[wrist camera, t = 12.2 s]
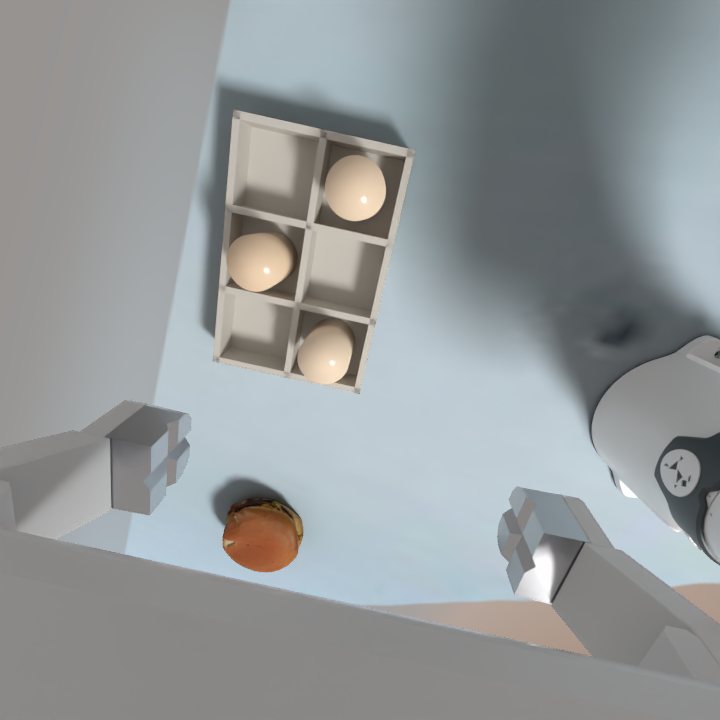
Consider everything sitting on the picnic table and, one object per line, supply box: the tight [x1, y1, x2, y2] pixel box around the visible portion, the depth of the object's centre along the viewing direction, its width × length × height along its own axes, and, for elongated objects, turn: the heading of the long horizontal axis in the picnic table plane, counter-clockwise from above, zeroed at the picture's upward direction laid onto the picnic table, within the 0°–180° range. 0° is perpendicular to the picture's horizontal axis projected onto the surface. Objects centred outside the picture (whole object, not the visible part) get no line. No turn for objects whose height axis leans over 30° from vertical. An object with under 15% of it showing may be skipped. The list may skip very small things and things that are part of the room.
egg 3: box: [325, 155, 387, 221], centre depth 33 cm, size 5×5×6 cm
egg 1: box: [226, 231, 298, 292], centre depth 36 cm, size 5×5×6 cm
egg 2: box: [297, 318, 355, 384], centre depth 38 cm, size 5×5×6 cm
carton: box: [213, 109, 415, 394], centre depth 37 cm, size 15×22×4 cm
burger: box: [223, 499, 303, 572], centre depth 49 cm, size 10×9×5 cm
